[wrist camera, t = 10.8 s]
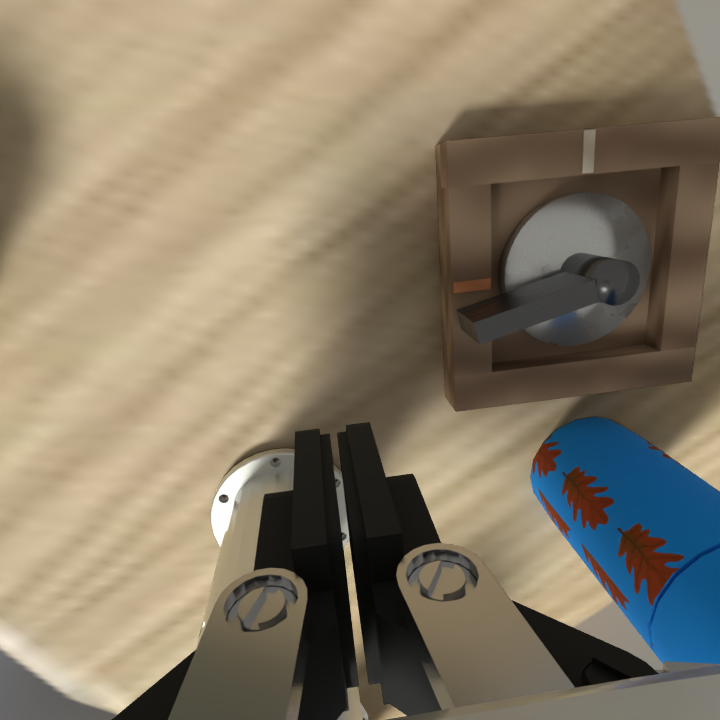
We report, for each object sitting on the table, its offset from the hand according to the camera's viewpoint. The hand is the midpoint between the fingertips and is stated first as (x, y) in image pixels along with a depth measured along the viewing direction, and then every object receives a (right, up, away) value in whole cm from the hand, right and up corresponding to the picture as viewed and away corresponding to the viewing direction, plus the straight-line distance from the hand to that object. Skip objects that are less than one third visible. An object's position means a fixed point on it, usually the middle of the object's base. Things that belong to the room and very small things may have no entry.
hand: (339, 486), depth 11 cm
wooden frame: (+17, +10, +29) cm, 35 cm away
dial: (+15, +9, +28) cm, 33 cm away
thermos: (+21, -7, +36) cm, 42 cm away
